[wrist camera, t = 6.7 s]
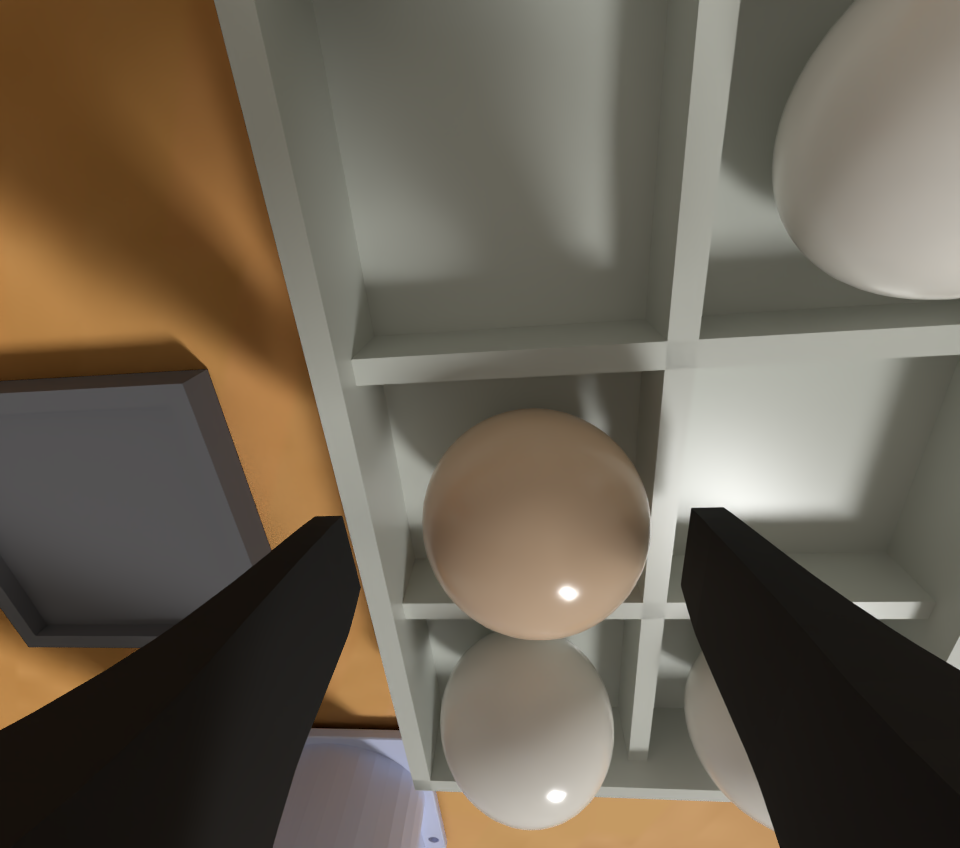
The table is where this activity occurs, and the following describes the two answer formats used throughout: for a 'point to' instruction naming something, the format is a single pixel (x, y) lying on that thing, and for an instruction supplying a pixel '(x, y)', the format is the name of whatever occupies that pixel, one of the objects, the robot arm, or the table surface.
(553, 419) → the beige ball
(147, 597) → the coaster
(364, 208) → the tray
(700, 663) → the white egg
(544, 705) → the white egg
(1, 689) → the table surface
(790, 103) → the white egg
